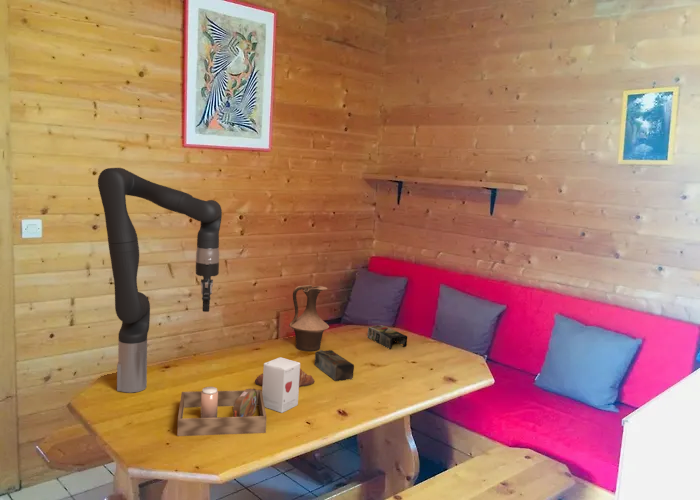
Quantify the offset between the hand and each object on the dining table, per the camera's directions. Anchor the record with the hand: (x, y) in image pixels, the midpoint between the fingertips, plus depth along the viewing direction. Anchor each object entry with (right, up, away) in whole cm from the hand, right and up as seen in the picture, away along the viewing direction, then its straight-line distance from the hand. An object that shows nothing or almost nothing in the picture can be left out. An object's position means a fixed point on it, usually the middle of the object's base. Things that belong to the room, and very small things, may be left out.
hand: (206, 308), depth 203 cm
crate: (+8, -33, -14) cm, 37 cm away
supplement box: (+25, -33, -1) cm, 41 cm away
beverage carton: (+42, -29, +33) cm, 60 cm away
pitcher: (+30, -23, +60) cm, 71 cm away
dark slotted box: (+65, -24, +76) cm, 102 cm away
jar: (+4, -33, -15) cm, 37 cm away
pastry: (+25, -30, +18) cm, 43 cm away
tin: (+15, -34, -13) cm, 39 cm away
